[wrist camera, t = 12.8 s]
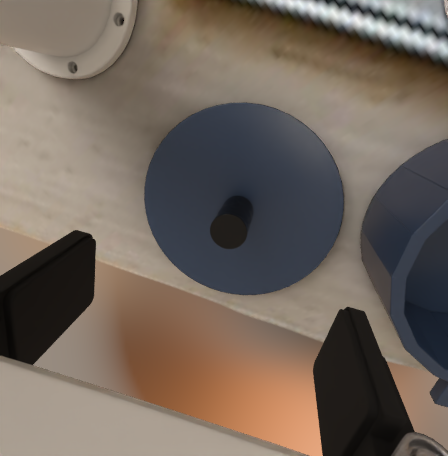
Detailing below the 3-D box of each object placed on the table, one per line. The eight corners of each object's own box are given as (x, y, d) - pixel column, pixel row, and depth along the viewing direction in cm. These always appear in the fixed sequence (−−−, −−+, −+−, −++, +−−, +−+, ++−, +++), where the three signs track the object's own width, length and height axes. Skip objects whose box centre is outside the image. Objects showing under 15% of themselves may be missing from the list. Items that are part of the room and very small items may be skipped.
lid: (142, 264, 32) (112, 297, 26) (157, 83, 25) (121, 77, 19) (307, 308, 30) (312, 353, 25) (374, 127, 23) (402, 134, 18)
